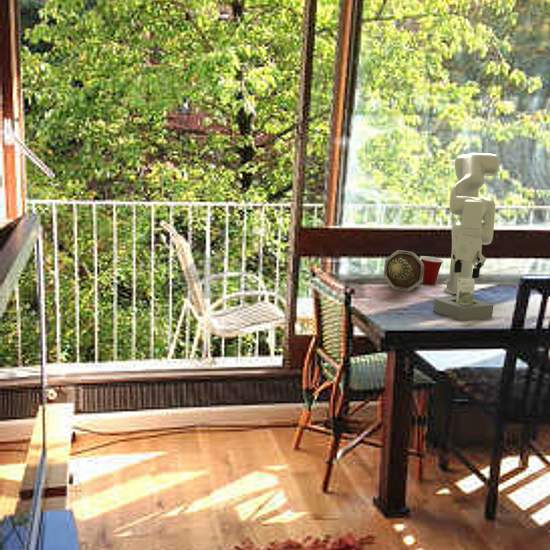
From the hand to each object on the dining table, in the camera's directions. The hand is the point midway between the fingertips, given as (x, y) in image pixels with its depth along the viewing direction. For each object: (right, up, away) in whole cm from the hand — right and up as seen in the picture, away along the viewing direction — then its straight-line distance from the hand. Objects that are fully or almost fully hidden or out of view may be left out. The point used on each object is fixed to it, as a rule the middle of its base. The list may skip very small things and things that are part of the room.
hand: (466, 275), depth 298 cm
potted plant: (-19, -7, +38) cm, 43 cm away
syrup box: (-1, -16, +3) cm, 16 cm away
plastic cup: (-3, -4, +56) cm, 56 cm away
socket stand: (-1, -15, +3) cm, 16 cm away
